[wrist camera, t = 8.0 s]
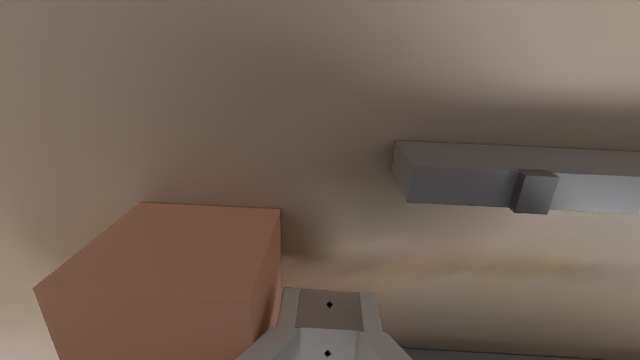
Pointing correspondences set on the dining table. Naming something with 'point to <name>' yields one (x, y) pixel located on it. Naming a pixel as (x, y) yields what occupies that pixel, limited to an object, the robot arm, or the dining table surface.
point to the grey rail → (515, 189)
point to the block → (168, 286)
